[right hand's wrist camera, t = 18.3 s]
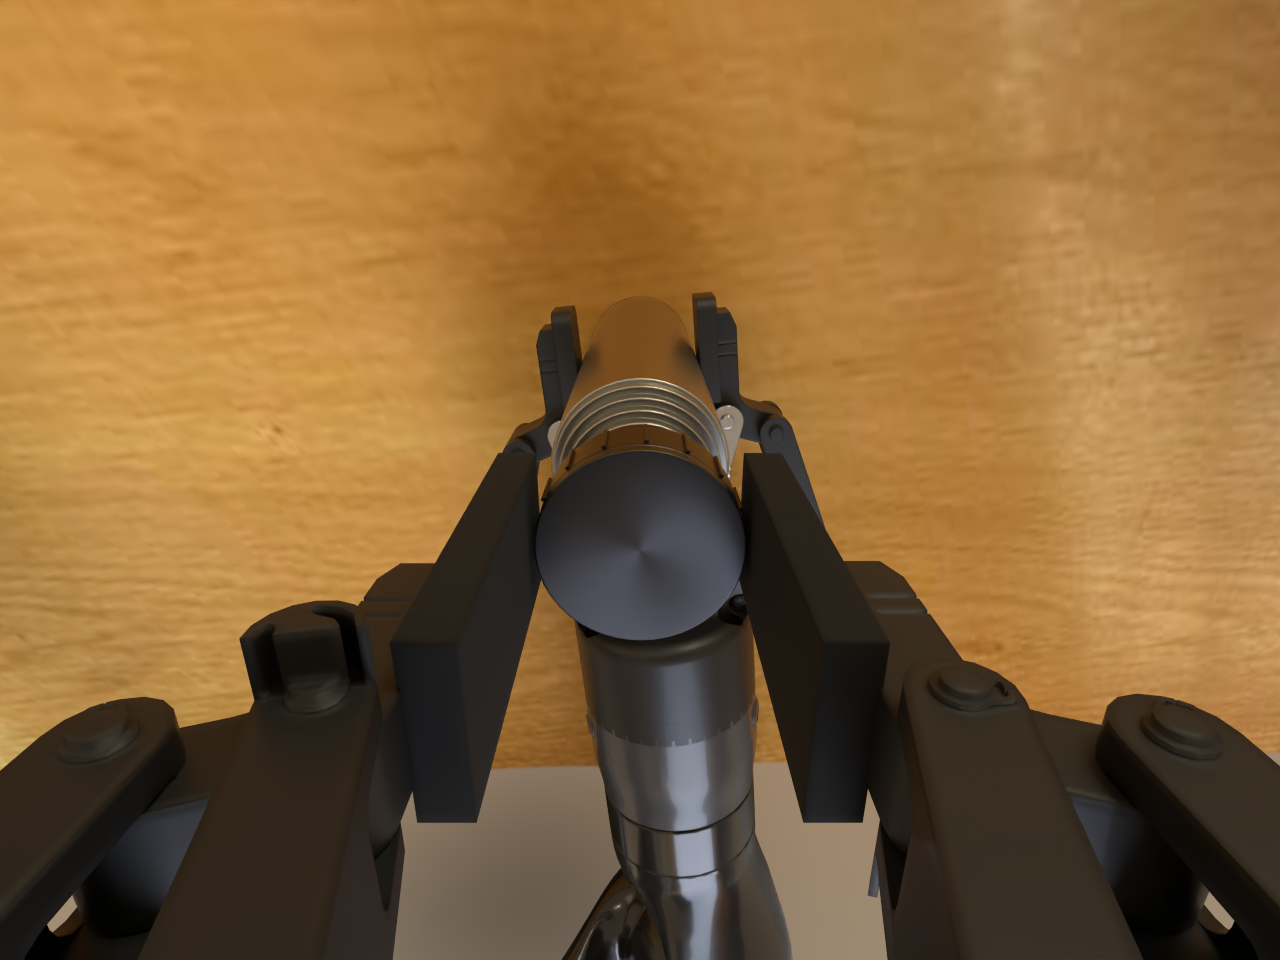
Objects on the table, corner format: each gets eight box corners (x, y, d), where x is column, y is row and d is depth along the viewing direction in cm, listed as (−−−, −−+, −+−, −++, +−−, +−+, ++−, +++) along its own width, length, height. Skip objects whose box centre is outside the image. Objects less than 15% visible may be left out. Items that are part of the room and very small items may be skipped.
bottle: (648, 410, 33) (659, 672, 15) (573, 354, 32) (481, 556, 14) (707, 337, 32) (802, 520, 13) (631, 275, 31) (617, 381, 12)
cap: (763, 450, 14) (777, 478, 12) (706, 619, 15) (713, 661, 14) (565, 401, 13) (556, 424, 12) (525, 579, 15) (514, 617, 13)
